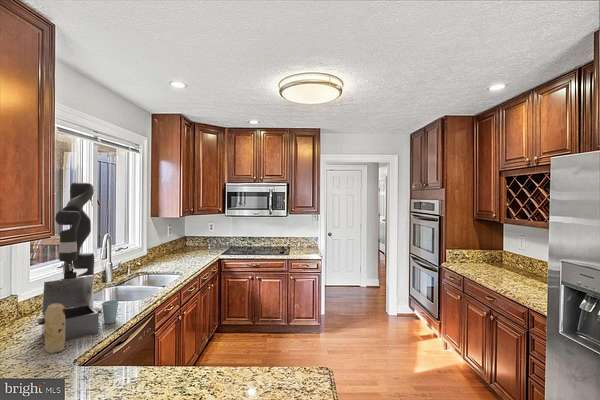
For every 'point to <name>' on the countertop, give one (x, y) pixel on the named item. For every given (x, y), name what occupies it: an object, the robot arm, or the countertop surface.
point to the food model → (55, 328)
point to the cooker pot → (78, 322)
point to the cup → (110, 311)
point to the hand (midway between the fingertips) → (67, 285)
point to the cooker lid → (68, 291)
